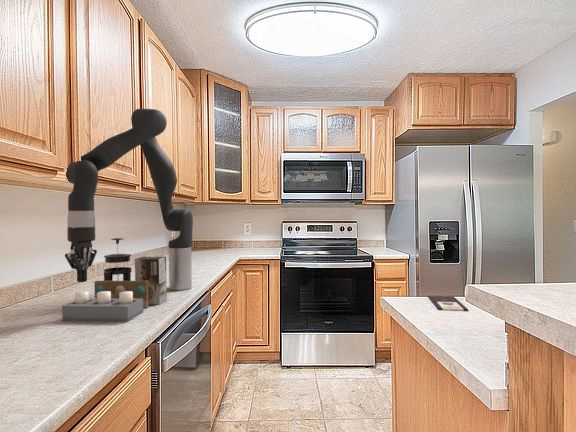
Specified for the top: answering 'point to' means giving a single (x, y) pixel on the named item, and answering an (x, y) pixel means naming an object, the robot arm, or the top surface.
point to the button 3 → (126, 297)
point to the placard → (124, 289)
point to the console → (102, 311)
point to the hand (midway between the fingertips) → (82, 281)
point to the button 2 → (104, 297)
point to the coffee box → (153, 277)
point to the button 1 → (81, 297)
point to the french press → (118, 270)
